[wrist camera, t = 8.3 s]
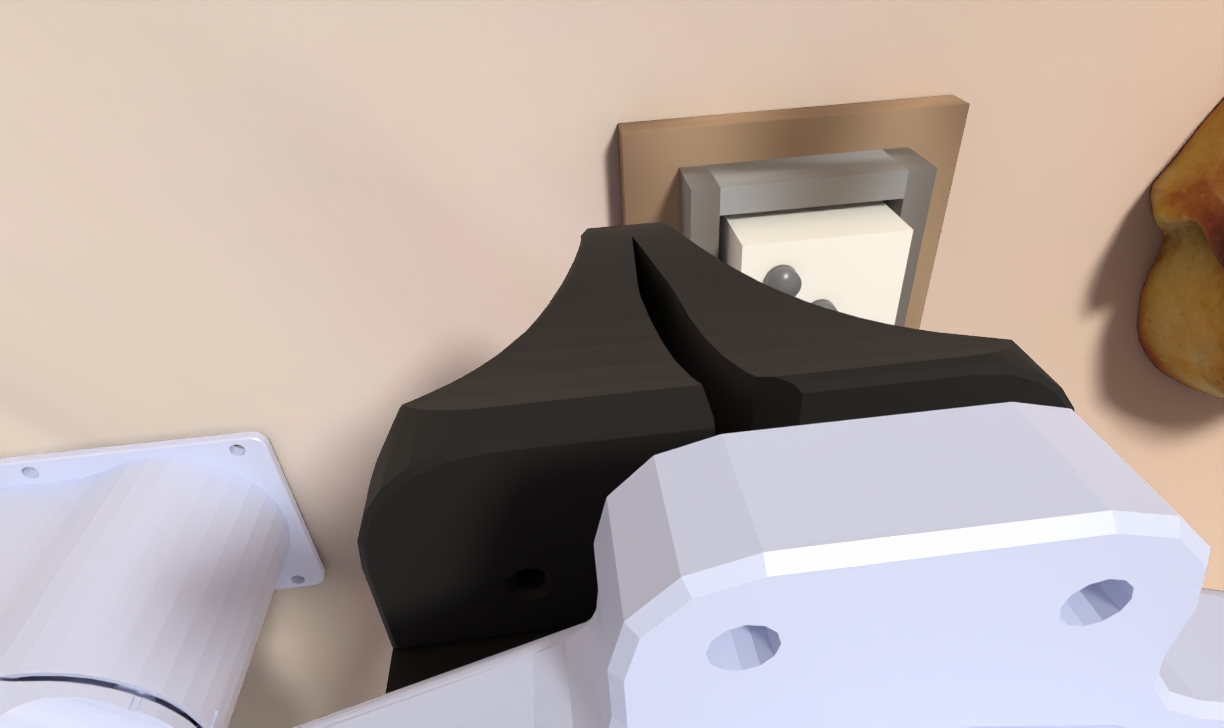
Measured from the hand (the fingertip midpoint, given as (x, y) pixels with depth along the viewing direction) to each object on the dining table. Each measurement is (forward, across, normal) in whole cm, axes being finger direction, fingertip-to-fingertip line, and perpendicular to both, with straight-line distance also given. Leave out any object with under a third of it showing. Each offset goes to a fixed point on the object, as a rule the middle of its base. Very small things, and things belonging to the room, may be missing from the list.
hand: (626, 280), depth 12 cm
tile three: (+9, -6, +5) cm, 12 cm away
